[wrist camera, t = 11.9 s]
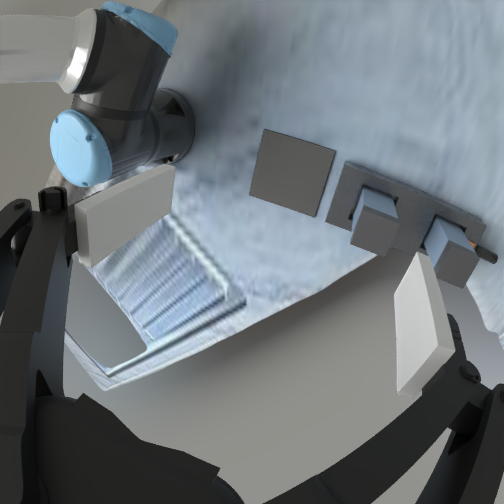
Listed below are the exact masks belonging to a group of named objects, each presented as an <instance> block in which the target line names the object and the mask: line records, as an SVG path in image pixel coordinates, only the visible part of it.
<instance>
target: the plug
mask: <svg viewBox="0 0 504 504" xmlns="http://www.w3.org/2000/svg"><path fill="white" fill-rule="evenodd" d="M398 227H399V220H398V216H397V212H396V209H395V205H394V201H393V198H392V196H390V195H387V194H385V193H382V192H380V191H377V190H375V189H372V188H369V187H367V186H363V188H362V191H361V194H360V197H359V199H358V202H357V205H356V208H355V210H354V213H353V223H352V232H351V240H350V244H351V245H354V246H357V247H359V248H362V249H364V250H367V251H370V252H372V253H375V254H377V255H380V256H383V257H385V255H386V253H387V251H388V249H389V247H390V245H391V242H392V240H393V238H394V236H395V234H396V231H397V229H398Z"/></svg>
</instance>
